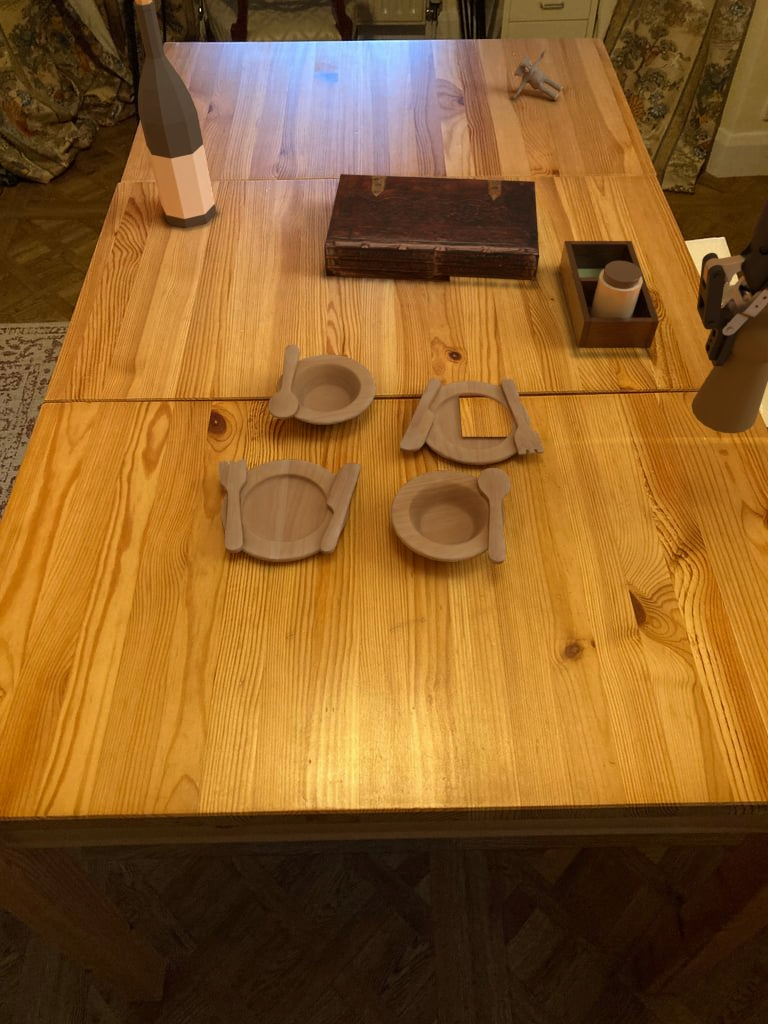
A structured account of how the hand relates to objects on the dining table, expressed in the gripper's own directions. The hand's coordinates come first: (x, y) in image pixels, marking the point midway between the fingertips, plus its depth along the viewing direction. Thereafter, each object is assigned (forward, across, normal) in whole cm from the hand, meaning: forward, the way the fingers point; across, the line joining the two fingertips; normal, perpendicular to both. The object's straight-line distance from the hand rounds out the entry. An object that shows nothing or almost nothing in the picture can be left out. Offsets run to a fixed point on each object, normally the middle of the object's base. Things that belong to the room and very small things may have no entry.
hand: (747, 359), depth 69 cm
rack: (+18, -4, +31) cm, 36 cm away
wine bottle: (+18, -63, +55) cm, 86 cm away
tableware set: (+18, -33, +3) cm, 38 cm away
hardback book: (+18, -26, +47) cm, 57 cm away
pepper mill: (+7, 0, 0) cm, 7 cm away
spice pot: (+17, -4, +27) cm, 32 cm away
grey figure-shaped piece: (+19, -5, +96) cm, 98 cm away
